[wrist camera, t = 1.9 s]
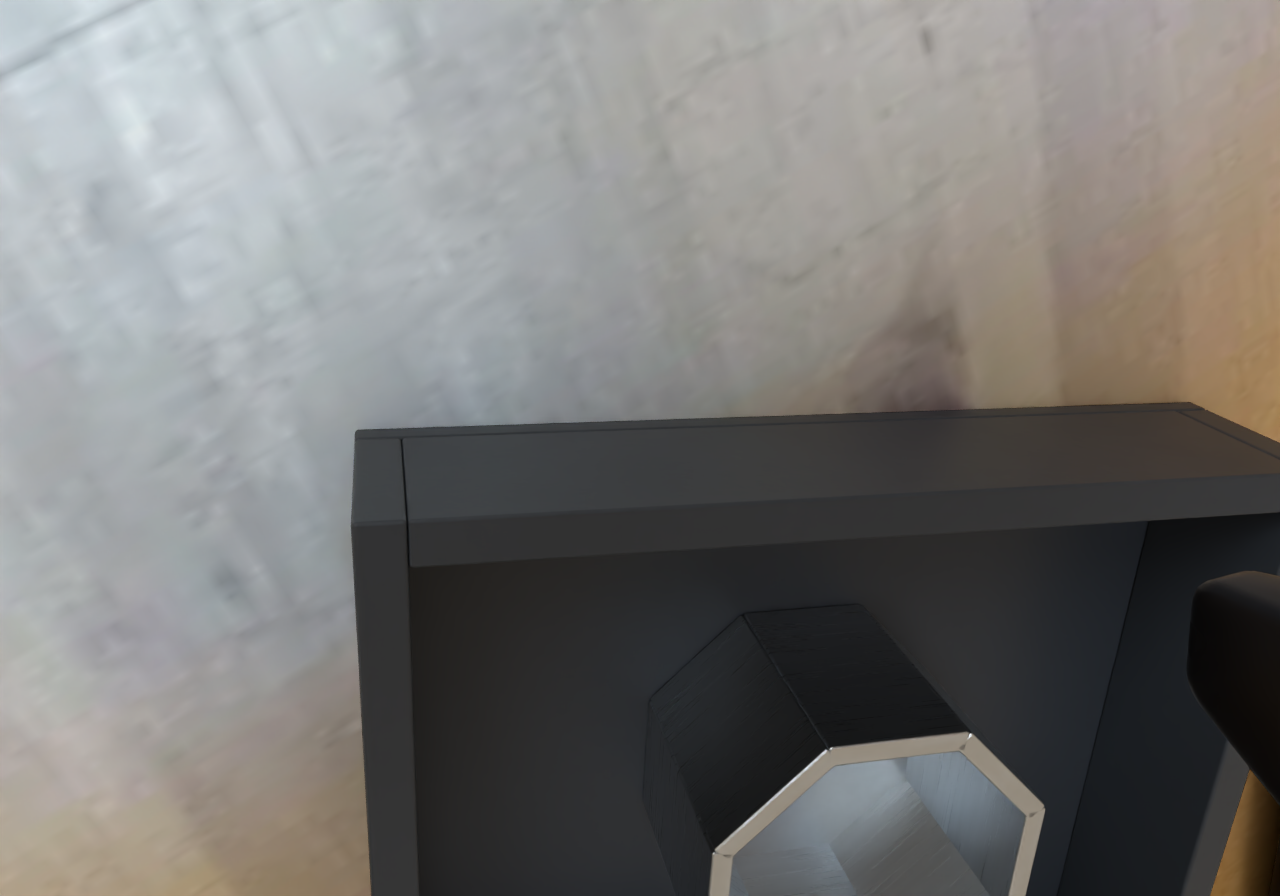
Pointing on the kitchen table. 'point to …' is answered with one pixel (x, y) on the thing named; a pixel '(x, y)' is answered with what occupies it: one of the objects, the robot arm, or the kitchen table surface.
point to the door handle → (1276, 875)
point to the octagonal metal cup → (828, 770)
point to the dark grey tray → (785, 580)
